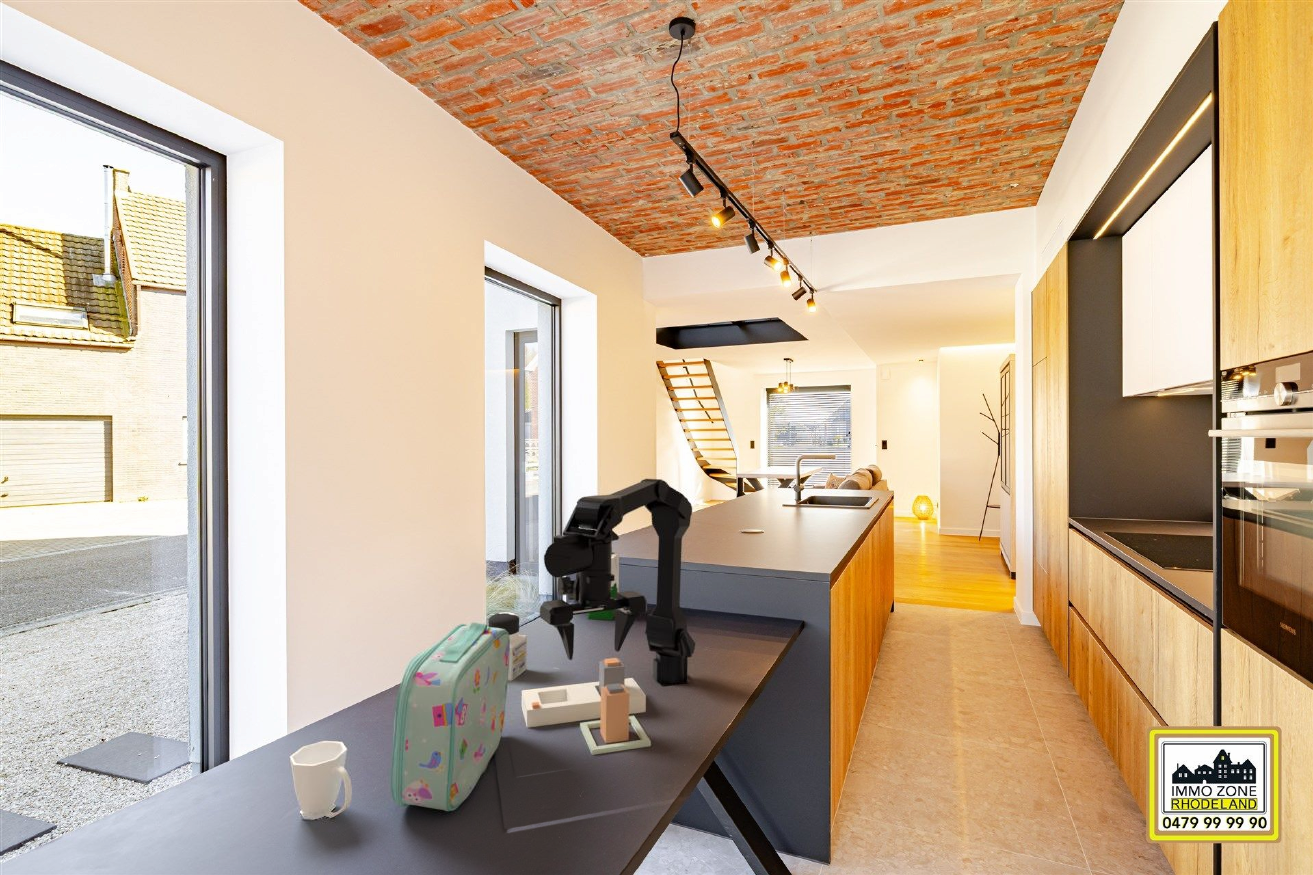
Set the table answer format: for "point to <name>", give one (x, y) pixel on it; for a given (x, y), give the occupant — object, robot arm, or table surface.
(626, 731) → the plug
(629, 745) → the tray
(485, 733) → the lunch box
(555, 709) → the outlet strip
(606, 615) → the milk carton
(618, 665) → the twin plug
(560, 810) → the table surface
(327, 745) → the cup
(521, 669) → the container
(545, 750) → the table surface
